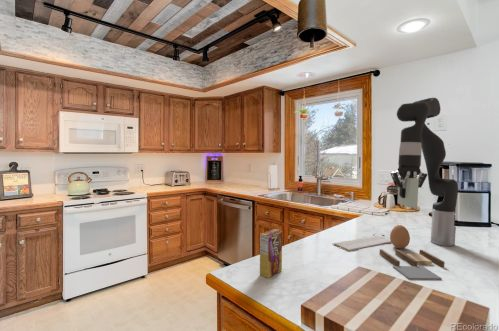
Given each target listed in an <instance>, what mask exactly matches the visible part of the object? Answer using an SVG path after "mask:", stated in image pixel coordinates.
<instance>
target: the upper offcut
mask: <svg viewBox="0 0 499 331" xmlns="http://www.w3.org/2000/svg"><path fill="white" fill-rule="evenodd" d="M405 254H406V255H408V256H409V257H411V258H413V259H414V260H416V261H418V263H417V264H433V262H432V261H430V260H429V259H427V258H425V257H424V256H422V255H421V254H419V253H405Z"/></svg>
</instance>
